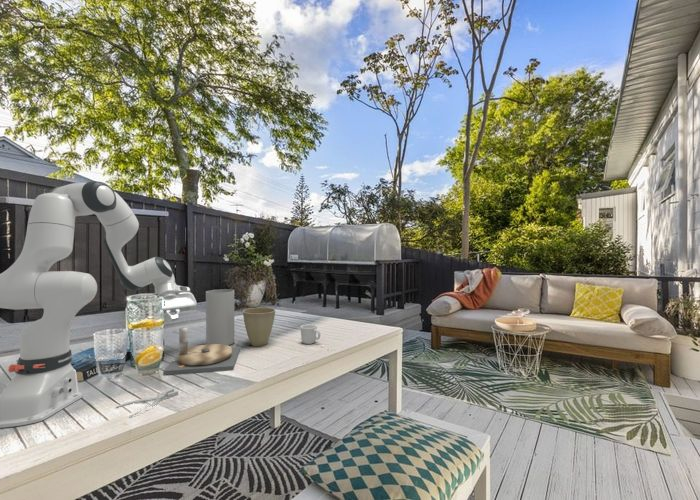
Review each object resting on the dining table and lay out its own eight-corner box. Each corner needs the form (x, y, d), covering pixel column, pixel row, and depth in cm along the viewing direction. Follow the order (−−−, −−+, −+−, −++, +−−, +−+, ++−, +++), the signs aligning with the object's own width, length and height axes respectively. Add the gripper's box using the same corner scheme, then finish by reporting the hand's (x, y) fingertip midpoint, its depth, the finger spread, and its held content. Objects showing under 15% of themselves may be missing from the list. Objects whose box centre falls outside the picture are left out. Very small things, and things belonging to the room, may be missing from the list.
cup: (325, 342, 161) (325, 326, 161) (314, 347, 154) (314, 329, 154) (307, 339, 167) (307, 323, 167) (296, 343, 160) (296, 326, 160)
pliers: (115, 403, 97) (168, 385, 109) (115, 409, 97) (168, 390, 109) (130, 413, 91) (184, 393, 104) (130, 419, 91) (184, 398, 104)
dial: (231, 346, 148) (231, 319, 148) (232, 361, 130) (232, 330, 129) (180, 351, 141) (180, 323, 141) (174, 368, 122) (174, 335, 122)
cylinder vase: (221, 338, 168) (220, 288, 167) (240, 341, 162) (239, 290, 162) (200, 345, 156) (199, 292, 156) (219, 349, 151) (219, 293, 150)
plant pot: (264, 350, 150) (263, 314, 149) (236, 346, 155) (236, 312, 154) (281, 340, 164) (281, 308, 164) (255, 338, 169) (255, 306, 168)
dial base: (233, 369, 126) (233, 365, 126) (163, 375, 121) (163, 370, 121) (239, 350, 150) (239, 346, 150) (181, 353, 144) (181, 349, 144)
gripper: (141, 291, 138) (147, 319, 131) (193, 287, 152) (201, 311, 145) (138, 301, 142) (144, 328, 135) (189, 295, 156) (197, 320, 149)
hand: (174, 319), depth 140 cm, fingers closed
